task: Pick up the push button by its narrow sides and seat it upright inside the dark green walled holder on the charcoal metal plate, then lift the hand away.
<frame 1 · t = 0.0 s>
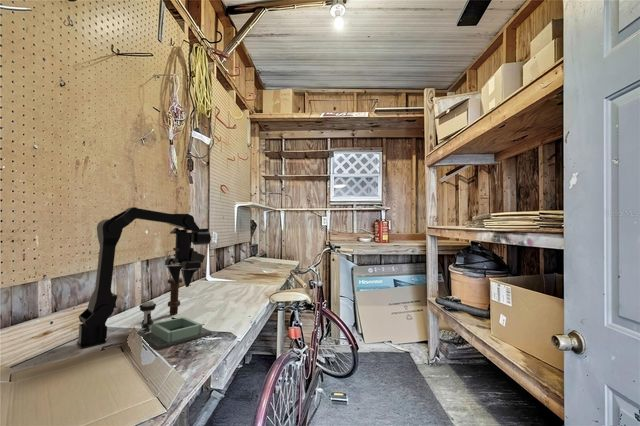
hand: (181, 285, 119), 15 cm above the workbench, tool pointing down, fingers open, 9 cm apart
holder: (176, 328, 104), on the mounting plate, point 2 cm above the workbench
bolt: (173, 314, 130), on the workbench
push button: (145, 331, 108), on the workbench
mounting plate: (176, 336, 104), on the workbench
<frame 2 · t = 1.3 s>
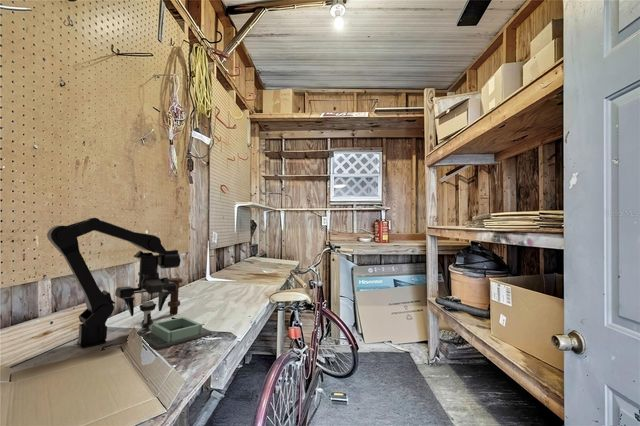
hand: (146, 313, 109), 6 cm above the workbench, tool pointing down, fingers open, 9 cm apart
nothing on the workbench moved.
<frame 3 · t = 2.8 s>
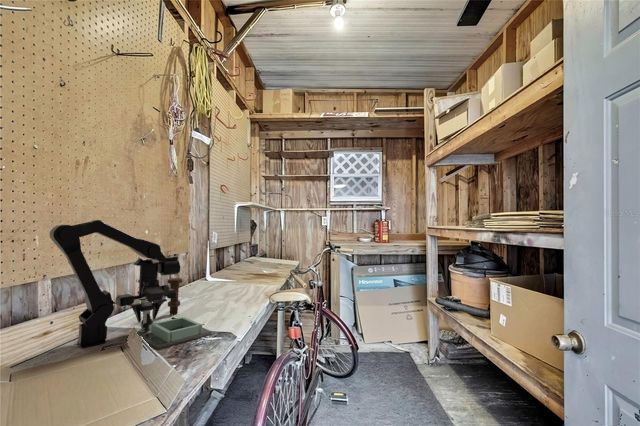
hand: (146, 320, 109), 4 cm above the workbench, tool pointing down, fingers closed on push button, 4 cm apart
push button: (145, 331, 108), on the workbench, touching gripper
everything else where it was.
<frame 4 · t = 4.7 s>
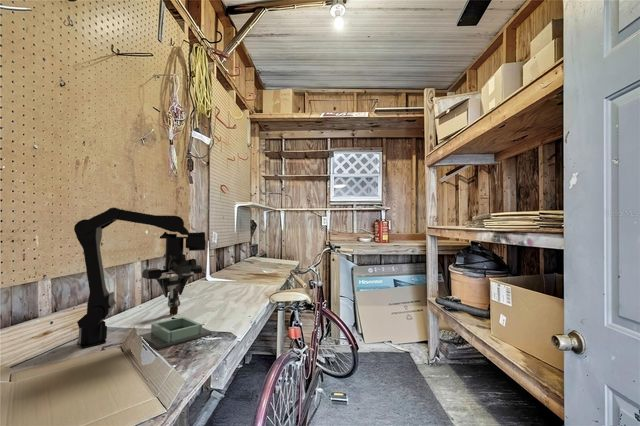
hand: (173, 296, 106), 13 cm above the workbench, tool pointing down, fingers closed on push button, 4 cm apart
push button: (172, 306, 105), point 10 cm above the workbench, touching gripper
everything else where it was.
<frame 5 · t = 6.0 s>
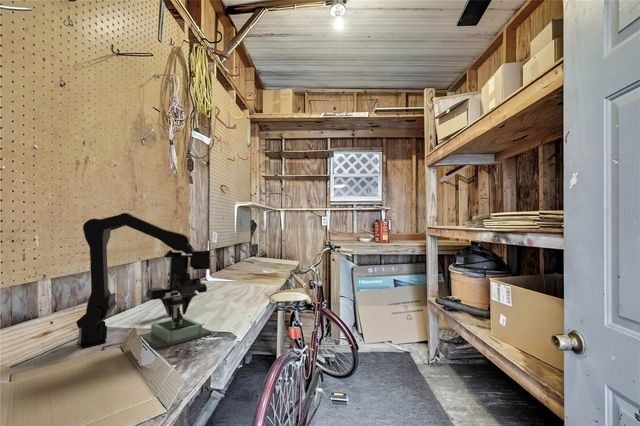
hand: (176, 315, 104), 7 cm above the workbench, tool pointing down, fingers closed on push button, 4 cm apart
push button: (176, 326, 104), point 3 cm above the workbench, touching gripper
everything else where it was.
when the fingers open (6 cm above the workbench, at t = 6.9 s): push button drops 2 cm, resting on mounting plate.
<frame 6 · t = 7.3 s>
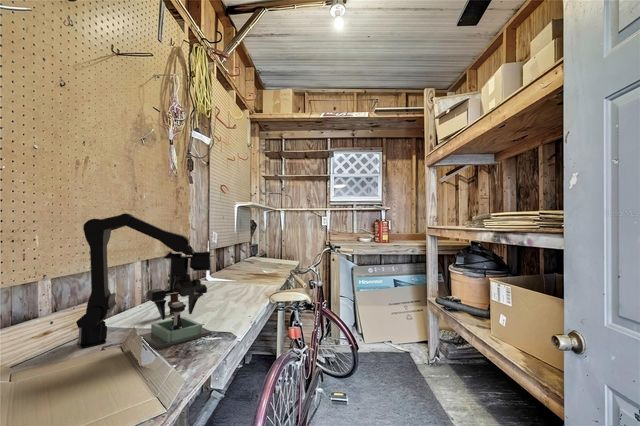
hand: (177, 316, 104), 6 cm above the workbench, tool pointing down, fingers open, 9 cm apart
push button: (175, 333, 104), point 1 cm above the workbench, touching mounting plate
everything else where it was.
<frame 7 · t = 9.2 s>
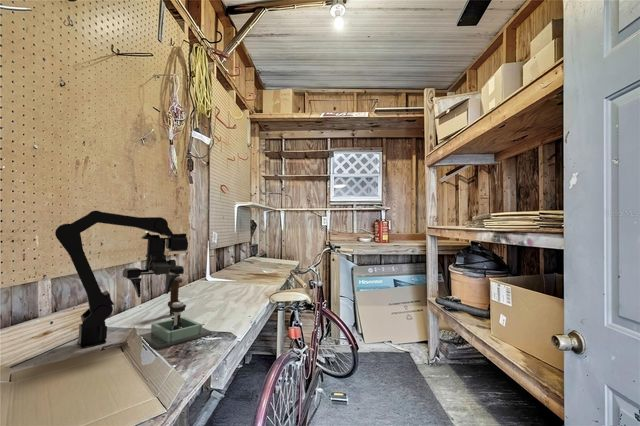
hand: (153, 295, 108), 13 cm above the workbench, tool pointing down, fingers open, 9 cm apart
nothing on the workbench moved.
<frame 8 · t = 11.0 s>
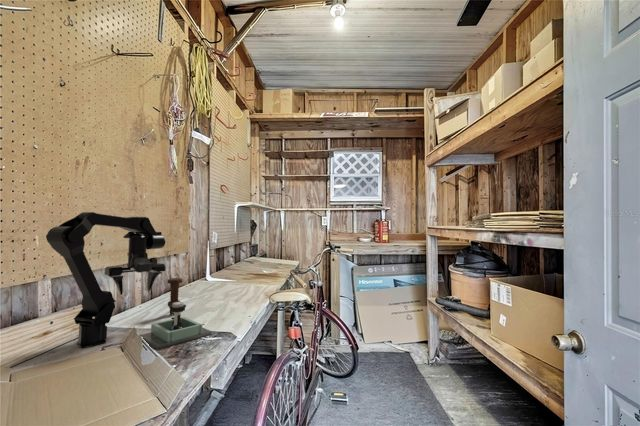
hand: (135, 292, 111), 13 cm above the workbench, tool pointing down, fingers open, 9 cm apart
nothing on the workbench moved.
at the end: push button 0.2 cm off-centre on the holder, point 0.8 cm above the holder's base; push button tilted 0°; the gripper is holding nothing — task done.
